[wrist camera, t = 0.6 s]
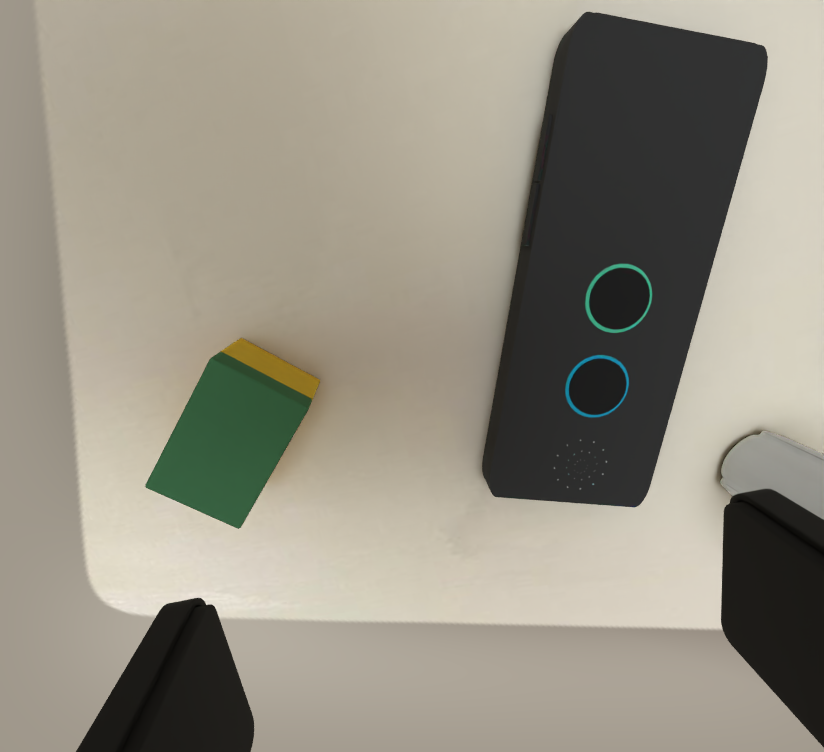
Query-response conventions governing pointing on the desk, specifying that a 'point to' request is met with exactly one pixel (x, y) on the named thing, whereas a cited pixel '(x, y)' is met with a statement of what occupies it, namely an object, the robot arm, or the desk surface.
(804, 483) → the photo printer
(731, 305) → the desk surface
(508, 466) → the smart home device
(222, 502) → the sponge
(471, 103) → the desk surface
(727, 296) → the desk surface
